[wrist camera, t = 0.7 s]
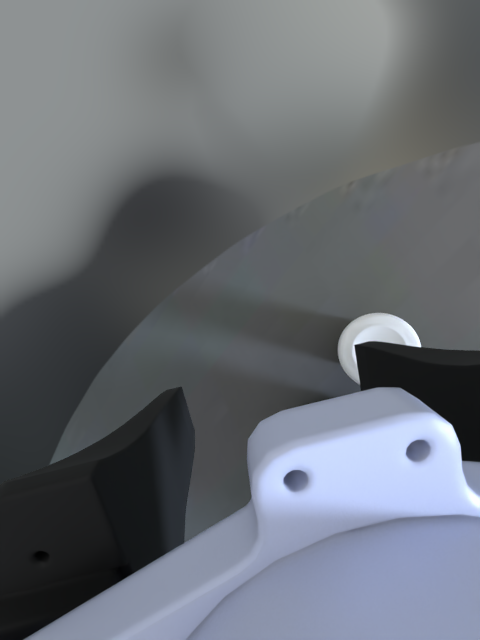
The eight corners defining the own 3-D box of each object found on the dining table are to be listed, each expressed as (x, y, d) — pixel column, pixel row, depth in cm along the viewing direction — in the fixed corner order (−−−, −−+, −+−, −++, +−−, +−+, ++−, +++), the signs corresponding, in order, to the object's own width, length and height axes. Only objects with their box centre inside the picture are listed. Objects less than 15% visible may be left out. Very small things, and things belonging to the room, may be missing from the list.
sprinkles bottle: (370, 378, 31) (392, 408, 18) (329, 351, 32) (322, 361, 19) (398, 339, 30) (441, 340, 17) (355, 313, 31) (366, 297, 19)
